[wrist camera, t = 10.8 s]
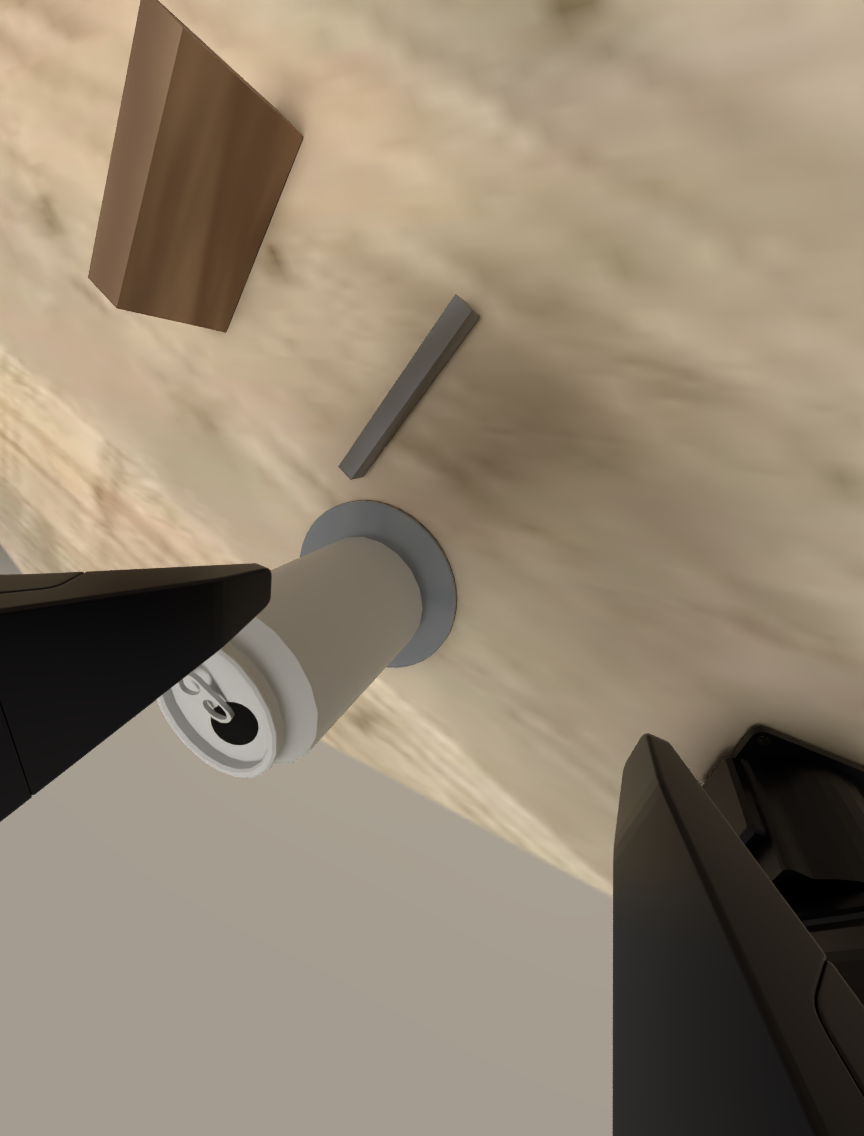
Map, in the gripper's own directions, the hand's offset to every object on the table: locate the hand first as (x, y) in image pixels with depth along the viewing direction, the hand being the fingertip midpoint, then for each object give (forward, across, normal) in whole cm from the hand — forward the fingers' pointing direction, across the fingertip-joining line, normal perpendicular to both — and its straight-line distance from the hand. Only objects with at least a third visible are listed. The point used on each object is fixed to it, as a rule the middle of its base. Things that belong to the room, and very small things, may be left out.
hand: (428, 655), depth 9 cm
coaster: (+13, +8, +7) cm, 17 cm away
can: (+13, +8, +7) cm, 17 cm away
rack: (+13, +13, -7) cm, 20 cm away
